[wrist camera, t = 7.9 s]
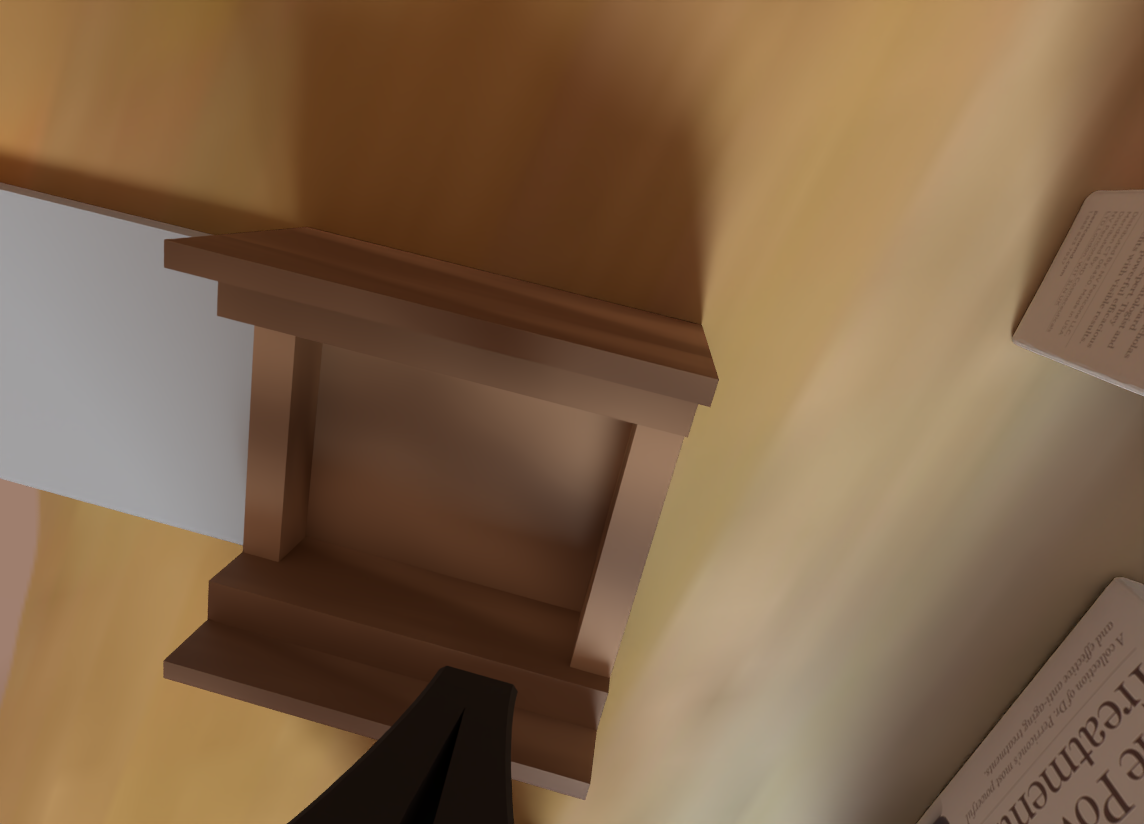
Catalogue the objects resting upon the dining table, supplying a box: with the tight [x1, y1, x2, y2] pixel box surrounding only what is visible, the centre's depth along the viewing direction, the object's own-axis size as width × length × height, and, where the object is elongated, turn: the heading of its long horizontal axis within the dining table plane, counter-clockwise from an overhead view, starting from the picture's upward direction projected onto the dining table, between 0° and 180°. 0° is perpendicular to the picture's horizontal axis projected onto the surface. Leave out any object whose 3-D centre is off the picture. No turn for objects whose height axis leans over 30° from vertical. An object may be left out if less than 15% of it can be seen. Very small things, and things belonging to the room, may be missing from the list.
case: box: [164, 227, 719, 800], centre depth 18 cm, size 12×12×6 cm
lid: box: [0, 182, 254, 545], centre depth 21 cm, size 10×10×2 cm
